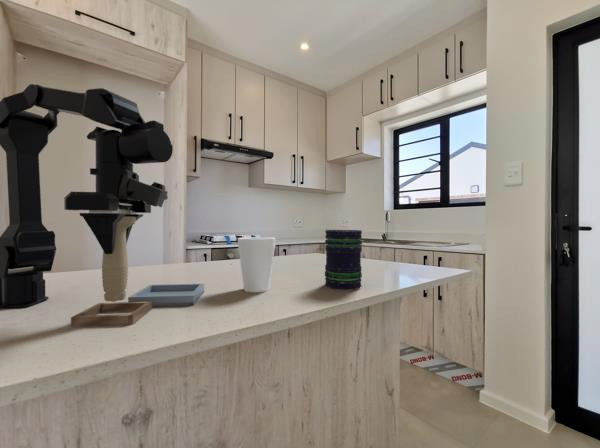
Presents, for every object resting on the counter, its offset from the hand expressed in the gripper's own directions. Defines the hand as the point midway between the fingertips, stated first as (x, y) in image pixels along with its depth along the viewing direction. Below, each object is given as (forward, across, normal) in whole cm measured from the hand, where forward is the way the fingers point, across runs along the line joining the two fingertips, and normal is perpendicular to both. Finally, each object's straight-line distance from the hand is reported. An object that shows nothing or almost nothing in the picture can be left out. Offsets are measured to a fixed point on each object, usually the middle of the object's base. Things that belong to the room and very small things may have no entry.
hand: (115, 252), depth 54 cm
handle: (+9, 0, 0) cm, 9 cm away
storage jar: (+12, +21, -48) cm, 54 cm away
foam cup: (+12, +19, -25) cm, 33 cm away
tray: (+12, +12, -6) cm, 18 cm away
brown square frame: (+12, 0, 0) cm, 12 cm away
